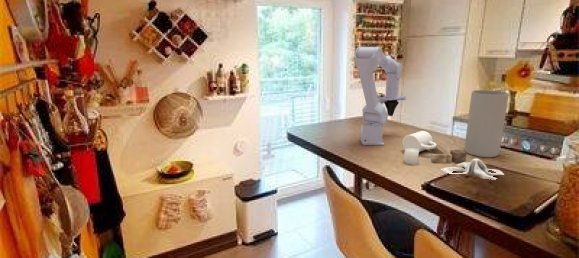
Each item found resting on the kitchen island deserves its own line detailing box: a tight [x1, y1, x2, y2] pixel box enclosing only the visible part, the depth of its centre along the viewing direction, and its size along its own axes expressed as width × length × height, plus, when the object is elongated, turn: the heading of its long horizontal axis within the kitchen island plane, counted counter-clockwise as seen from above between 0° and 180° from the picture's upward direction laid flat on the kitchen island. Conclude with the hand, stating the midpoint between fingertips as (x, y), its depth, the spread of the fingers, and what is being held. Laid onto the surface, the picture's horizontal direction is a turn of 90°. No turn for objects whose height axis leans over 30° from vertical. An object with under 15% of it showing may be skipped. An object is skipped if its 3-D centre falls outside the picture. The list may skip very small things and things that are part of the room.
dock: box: [429, 140, 452, 164], centre depth 135 cm, size 7×23×3 cm, turn 178°
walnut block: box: [449, 149, 468, 164], centre depth 125 cm, size 4×4×4 cm
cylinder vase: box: [463, 89, 510, 158], centre depth 131 cm, size 12×12×25 cm
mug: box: [401, 130, 438, 153], centre depth 135 cm, size 12×10×8 cm
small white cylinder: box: [403, 148, 420, 166], centre depth 124 cm, size 5×5×5 cm
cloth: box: [439, 158, 505, 180], centre depth 112 cm, size 22×19×6 cm
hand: (390, 115), depth 158 cm, fingers closed
